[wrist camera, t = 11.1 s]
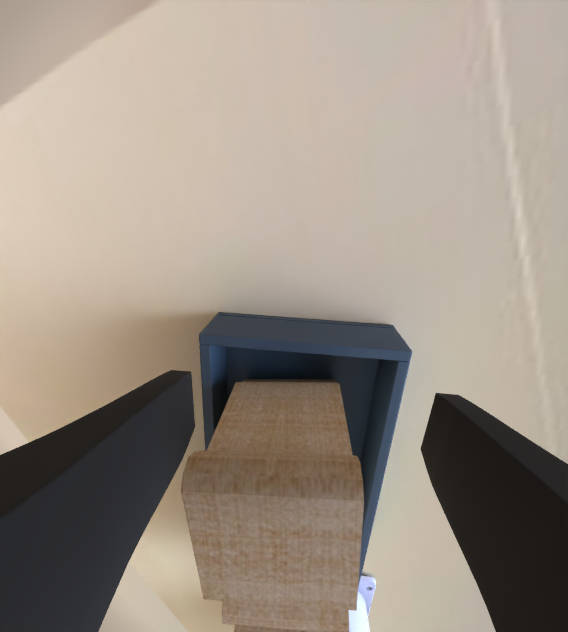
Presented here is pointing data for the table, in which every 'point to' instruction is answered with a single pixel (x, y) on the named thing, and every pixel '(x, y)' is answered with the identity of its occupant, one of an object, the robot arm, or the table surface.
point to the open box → (314, 363)
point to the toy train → (278, 508)
